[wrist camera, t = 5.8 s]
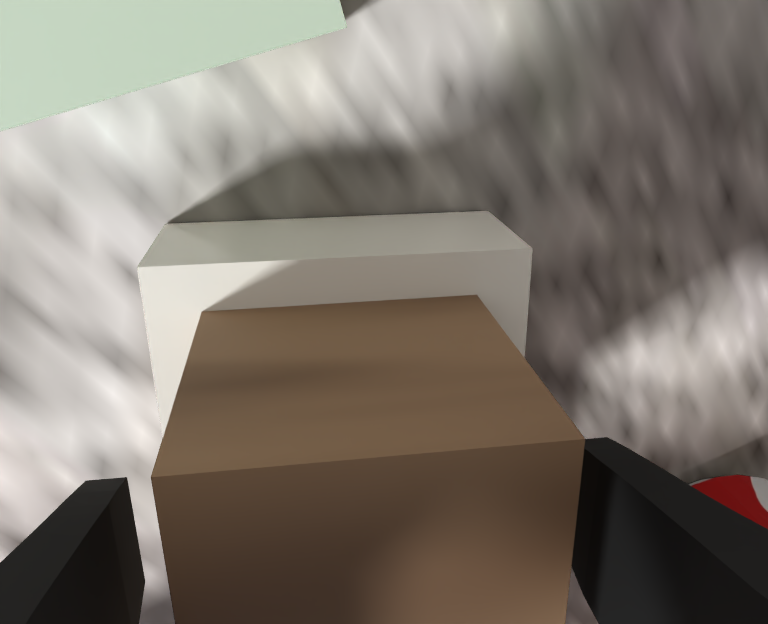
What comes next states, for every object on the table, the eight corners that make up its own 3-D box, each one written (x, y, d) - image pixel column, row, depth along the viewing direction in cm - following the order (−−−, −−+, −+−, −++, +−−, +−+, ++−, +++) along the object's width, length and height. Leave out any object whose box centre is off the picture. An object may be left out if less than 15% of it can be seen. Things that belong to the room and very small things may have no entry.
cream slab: (475, 474, 18) (509, 554, 15) (200, 498, 17) (184, 587, 14) (488, 210, 15) (532, 248, 13) (165, 223, 14) (136, 266, 12)
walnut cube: (468, 515, 15) (552, 734, 10) (229, 538, 14) (201, 783, 9) (477, 294, 13) (585, 439, 8) (201, 311, 12) (151, 477, 8)
